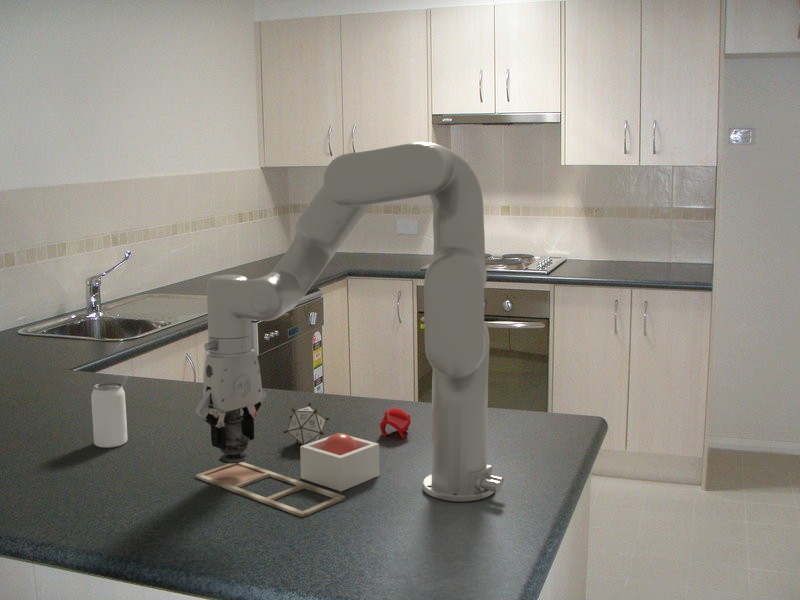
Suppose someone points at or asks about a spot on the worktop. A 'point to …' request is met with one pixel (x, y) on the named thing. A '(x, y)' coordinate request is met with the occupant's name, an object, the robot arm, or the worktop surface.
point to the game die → (306, 425)
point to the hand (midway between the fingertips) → (233, 441)
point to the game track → (247, 474)
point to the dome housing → (339, 464)
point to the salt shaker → (234, 439)
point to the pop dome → (339, 444)
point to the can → (109, 415)
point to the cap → (395, 421)
